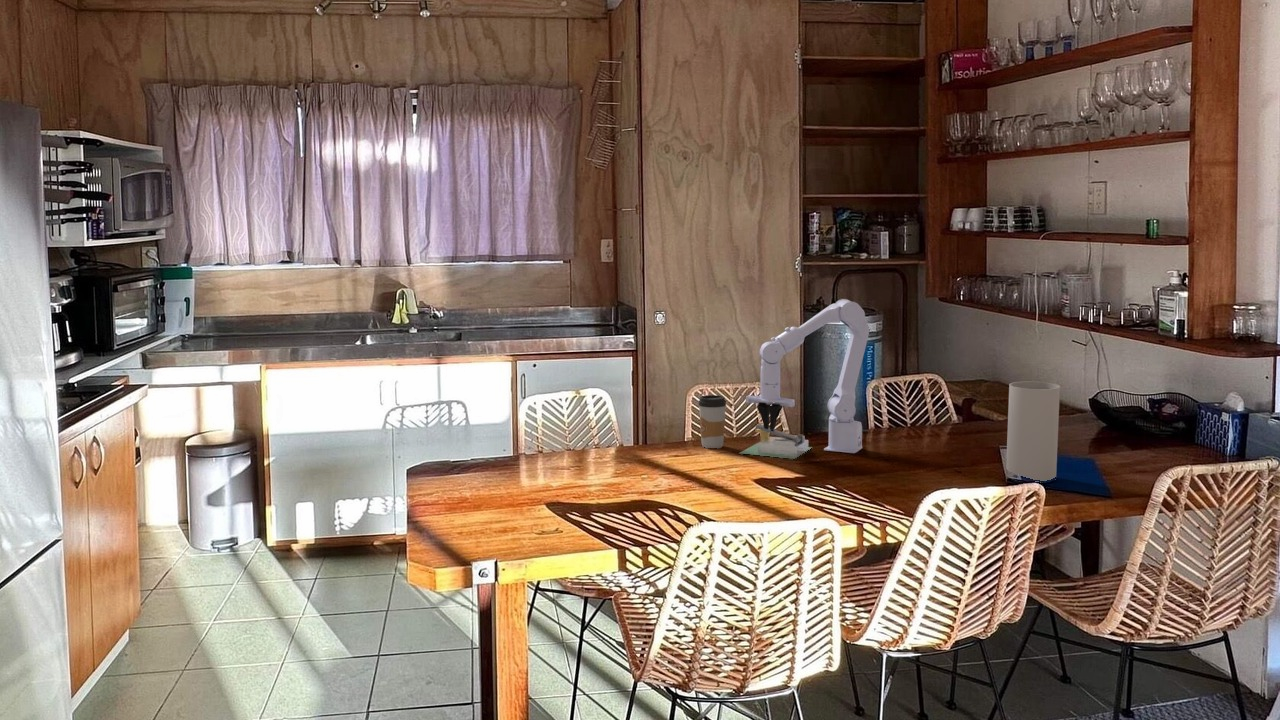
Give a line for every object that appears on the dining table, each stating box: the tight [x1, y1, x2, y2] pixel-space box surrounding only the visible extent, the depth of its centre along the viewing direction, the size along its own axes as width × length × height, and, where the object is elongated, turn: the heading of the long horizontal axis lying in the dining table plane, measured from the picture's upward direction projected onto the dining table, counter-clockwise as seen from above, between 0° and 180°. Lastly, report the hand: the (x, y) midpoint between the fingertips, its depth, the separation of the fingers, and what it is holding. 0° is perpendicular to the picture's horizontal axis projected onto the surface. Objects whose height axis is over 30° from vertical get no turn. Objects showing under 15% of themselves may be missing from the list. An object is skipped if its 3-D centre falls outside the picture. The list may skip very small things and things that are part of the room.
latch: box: [754, 428, 770, 442], centre depth 346 cm, size 2×5×6 cm, turn 153°
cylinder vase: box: [1005, 381, 1061, 483], centre depth 304 cm, size 12×12×25 cm
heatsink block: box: [757, 433, 809, 458], centre depth 339 cm, size 12×10×5 cm
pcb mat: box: [738, 442, 814, 460], centre depth 341 cm, size 17×16×1 cm
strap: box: [755, 423, 802, 442], centre depth 339 cm, size 14×3×1 cm, turn 64°
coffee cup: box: [698, 394, 727, 449], centre depth 347 cm, size 8×8×15 cm
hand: (769, 428), depth 340 cm, fingers closed
